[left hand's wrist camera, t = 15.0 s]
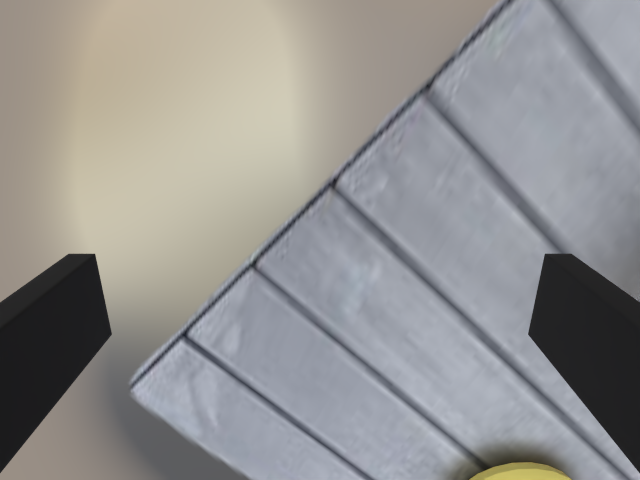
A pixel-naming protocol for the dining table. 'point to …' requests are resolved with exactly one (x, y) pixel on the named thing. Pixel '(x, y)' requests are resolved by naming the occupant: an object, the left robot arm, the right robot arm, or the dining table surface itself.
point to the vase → (521, 472)
